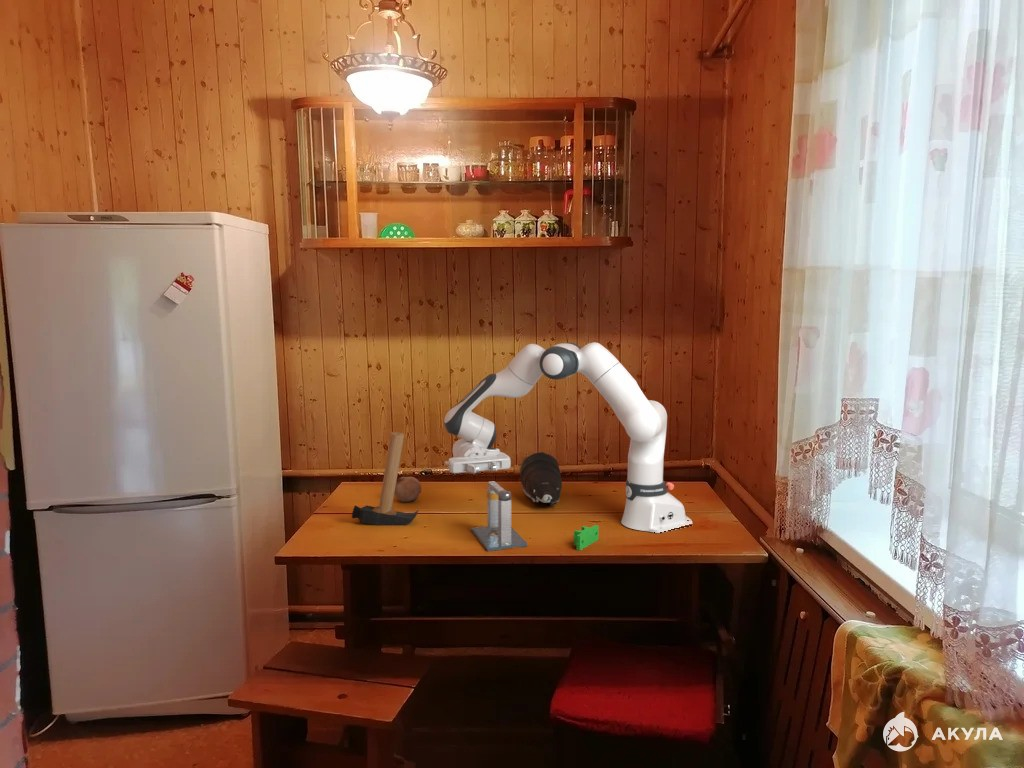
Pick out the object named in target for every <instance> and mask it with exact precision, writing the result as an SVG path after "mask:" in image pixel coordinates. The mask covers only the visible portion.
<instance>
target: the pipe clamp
mask: <svg viewBox="0 0 1024 768" xmlns="http://www.w3.org/2000/svg"><path fill="white" fill-rule="evenodd" d="M599 527H600V526H599V525H598V524H594V525H593V526H590V527H588V526H584V525H582V526H581V530H576V529H574V531H573V546H576V551H578V550H579V551H580V550H581V551H582V550H584V549H585V548H587V547H589V546H591V545H592V544H593V543H595V542H597V541H599V531H600V530H599ZM588 545H589V546H588ZM583 548H584V549H583Z"/></svg>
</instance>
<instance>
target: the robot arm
mask: <svg viewBox="0 0 1024 768" xmlns="http://www.w3.org/2000/svg"><path fill="white" fill-rule="evenodd" d="M577 373H580V374H582V375H584V376H585V377H586V378H587V379H588V380H589V382H590V383H591V384H592V385H593V386H594V387H595V389H596V390H597V391H598V392H599V394H600V395H601V397H603V398H604V400H605V401H606V402H607V404H608V405H609V406H610V408H611V409H612V411H613V412H614V414H615V415H616V417H617V419H618V420H619V422H620V423H621V425H622V426H623V428H624V429H625V432H626V435H628V437H629V438H630V440H629V449H628V453H627V478H626V480H625V507H624V511H623V514H622V518H621V521H620V523H621V524H622V525H623V526H624V527H626V528H629V529H633V530H637V531H643V532H651V533H654V532H655V534H660V532H662V533H665V532H664V531H666V532H669V531H668V530H671V529H674V528H679V527H681V526H685V525H689V524H693V521H692V519H691V518H690V517H688V516H687V515H686V511H685V509H686V508H685V506H684V505H683V503H682V502H681V501H680V500H678V499H677V498H676V497H675V496H673V495H672V493H670V492H668V490H670V491H672V490H674V489H675V485H674V483H672V482H667V481H665V480H664V461H665V460H664V459H665V458H664V456H665V447H666V438H667V429H668V427H667V426H668V414H667V411H666V408H665V407H664V405H663V404H661V403H660V402H659V401H656V400H651V399H650V400H649V399H648V398H647V397H646V395H645V394H644V392H643V391H642V390H641V389H642V388H640V386H639V385H638V382H637V380H636V379H635V377H633V375H631V374H630V373H629V371H628V370H627V369H626V367H625V366H624V365H623V364H622V363H621V362H620V361H619V360H618V358H616V356H614V354H613V353H612V352H610V350H609V349H607V348H606V347H605V346H604V345H602V344H601V343H599V342H593V341H592V342H590V343H589V342H588V343H587V344H586V345H584V346H583V347H580V346H579V345H578V344H577V343H574V342H573V343H572V342H564V343H557V344H554V345H552V346H549V347H548V348H547V349H545V348H543V346H540V345H539V344H536V343H529V344H526V345H525V346H524V347H522V348H521V350H519V351H518V352H517V354H516V355H515V356H514V357H513V358H512V360H510V362H509V363H508V365H507V366H506V367H505V368H502V370H500V371H498V372H496V373H490V374H488V375H487V376H485V377H484V378H483V379H482V380H481V381H480V382H479V383H478V384H476V386H475V387H474V388H472V389H471V390H470V392H468V393H467V394H466V395H465V396H464V397H463V398H462V399H461V400H460V401H459V402H458V403H457V404H455V405H454V406H452V407H451V408H450V409H449V410H448V412H447V413H446V414H445V417H444V418H443V425H444V428H445V430H446V432H447V433H448V434H451V435H452V436H455V437H459V438H460V439H458V440H456V441H455V442H454V443H453V445H452V455H453V456H452V457H450V458H448V461H445V462H444V465H445V466H447V467H448V471H449V473H451V474H461V473H470V474H479V473H481V472H488V471H490V472H498V471H499V470H508V469H509V470H510V469H511V466H512V465H511V464H512V462H511V457H510V455H507V454H506V453H505V452H501V450H500V449H499V448H494V447H493V446H494V444H495V442H496V439H497V434H498V433H497V427H496V424H495V423H494V422H493V421H491V420H490V419H487V418H485V417H484V416H481V415H479V414H477V413H475V412H473V410H474V409H475V408H476V407H477V406H478V405H480V403H481V402H482V401H483V400H484V399H486V398H489V397H504V398H510V399H518V398H522V397H525V396H526V395H528V393H530V391H532V390H533V388H534V386H536V383H538V381H539V380H540V379H541V377H542V376H543V375H544V376H545V377H547V378H548V379H551V380H555V381H556V380H558V381H559V380H563V379H567V378H570V377H572V376H574V375H575V374H577ZM687 520H689V521H687ZM671 531H672V530H671Z"/></svg>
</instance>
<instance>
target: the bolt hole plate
mask: <svg viewBox="0 0 1024 768" xmlns="http://www.w3.org/2000/svg"><path fill="white" fill-rule="evenodd" d="M470 531H471V533H474V534H473V535H474V536H475V537H476V539H477V538H478V539H479V540H478V539H477V540H478V541H479V542H480V544H481V543H482V544H483V545H482V544H481V545H482V546H483V548H484V549H486V551H487V552H494V551H495V550H496V551H502V550H501V549H504V550H508V549H507V548H512V549H514V548H513V547H520V548H526V547H525V546H528V545H529V544H528V542H527V541H526V540H525V539H524V538H523V537H522V536H521V535H520V534H519V533H518V532H517V530H515V529H514V528H513V527H512V526H511V543H507V544H501V543H500V542H499V541H498V527H496V529H495V530H492V528H490V527H489V526H488V525H487V526H486V525H485V526H477V527H470ZM523 546H524V547H523Z"/></svg>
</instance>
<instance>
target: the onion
mask: <svg viewBox="0 0 1024 768" xmlns="http://www.w3.org/2000/svg"><path fill="white" fill-rule="evenodd" d="M421 493H422V484H421V482H420V481H419V479H418V478H416V477H414V476H402V477H399V478H397V481H396V487H395V492H394V497H396V499H397V500H399V501H400V502H401V503H408V502H409V503H410V502H414V501H416V500H417V499H418V498H419V497H420V495H421Z"/></svg>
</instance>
